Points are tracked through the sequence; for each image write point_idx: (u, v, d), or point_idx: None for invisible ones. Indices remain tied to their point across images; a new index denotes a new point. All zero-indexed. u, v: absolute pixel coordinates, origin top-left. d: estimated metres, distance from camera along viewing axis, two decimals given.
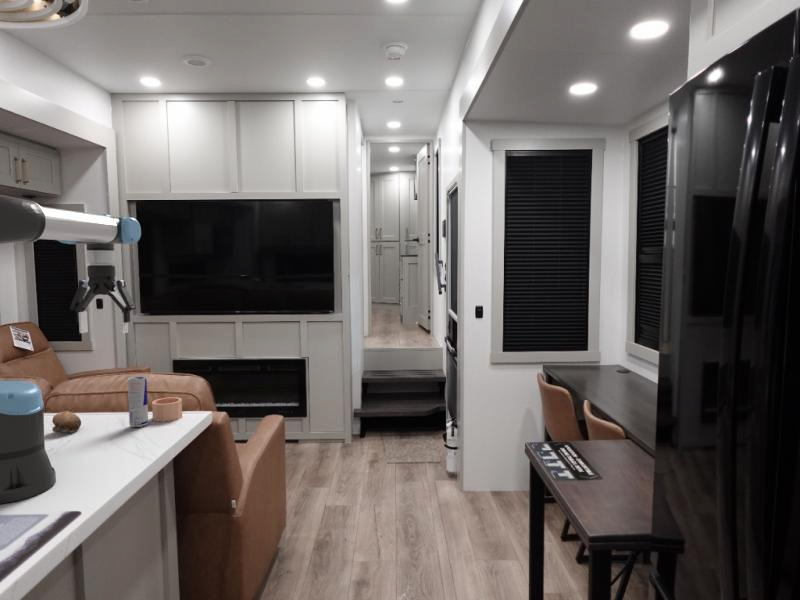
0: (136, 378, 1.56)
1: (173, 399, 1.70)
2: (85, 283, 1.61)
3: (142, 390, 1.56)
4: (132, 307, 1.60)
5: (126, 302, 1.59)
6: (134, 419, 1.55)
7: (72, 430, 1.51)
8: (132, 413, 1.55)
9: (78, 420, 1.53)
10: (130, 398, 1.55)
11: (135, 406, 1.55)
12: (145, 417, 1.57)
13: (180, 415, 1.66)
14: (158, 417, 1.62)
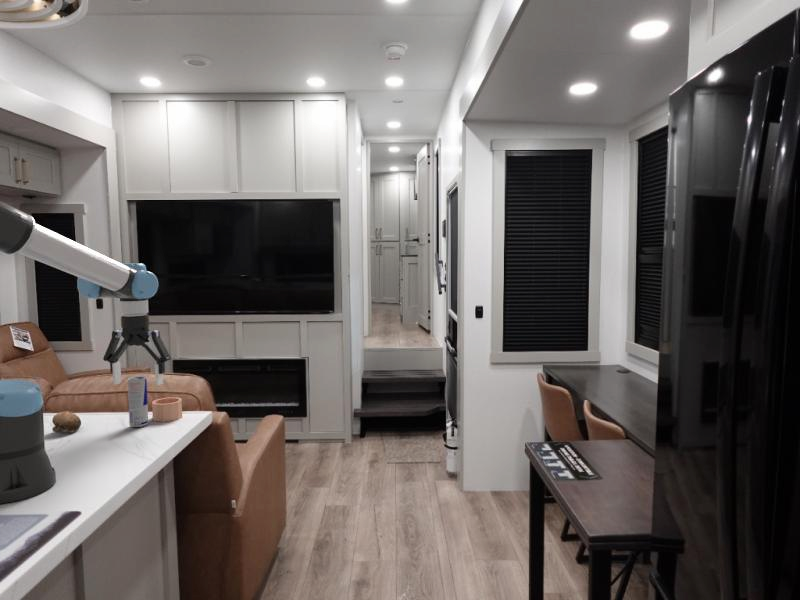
0: (136, 378, 1.56)
1: (173, 399, 1.70)
2: (118, 333, 1.56)
3: (142, 390, 1.56)
4: (167, 358, 1.55)
5: (161, 353, 1.55)
6: (134, 419, 1.55)
7: (72, 430, 1.51)
8: (132, 413, 1.55)
9: (78, 420, 1.53)
10: (130, 398, 1.55)
11: (135, 406, 1.55)
12: (145, 417, 1.57)
13: (180, 415, 1.66)
14: (158, 417, 1.62)
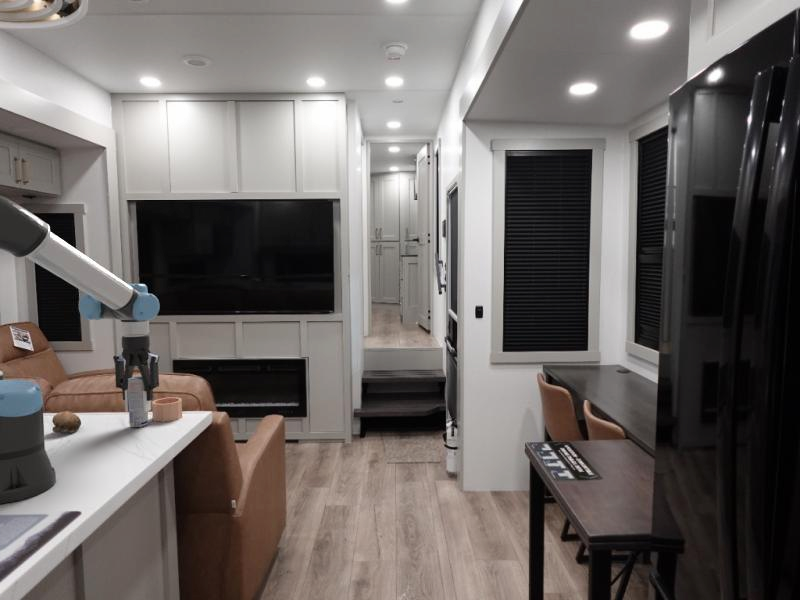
0: (136, 378, 1.56)
1: (173, 399, 1.70)
2: (120, 357, 1.57)
3: (142, 390, 1.56)
4: (155, 385, 1.56)
5: (152, 380, 1.55)
6: (134, 419, 1.55)
7: (72, 430, 1.51)
8: (132, 413, 1.55)
9: (78, 420, 1.53)
10: (130, 398, 1.55)
11: (135, 406, 1.55)
12: (145, 417, 1.57)
13: (180, 415, 1.66)
14: (158, 417, 1.62)
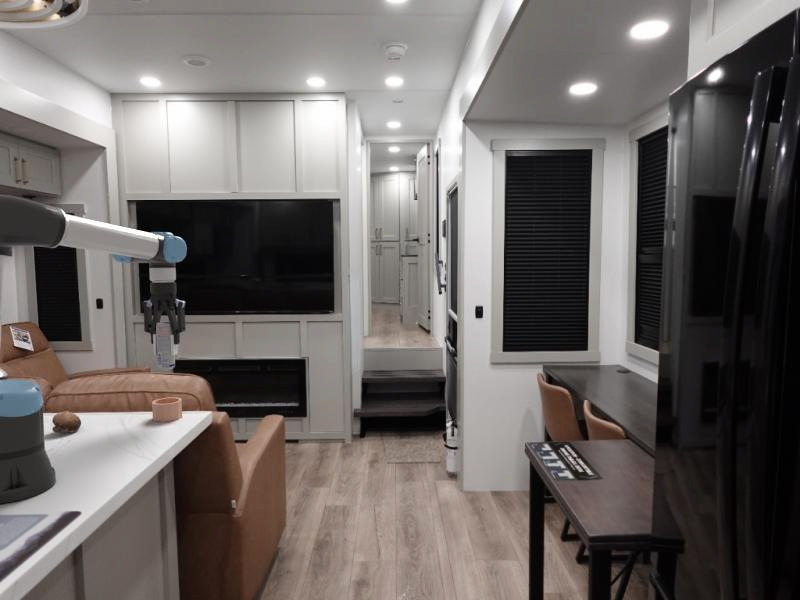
0: (164, 323, 1.64)
1: (173, 399, 1.70)
2: (148, 302, 1.64)
3: (170, 334, 1.64)
4: (182, 329, 1.64)
5: (179, 324, 1.63)
6: (162, 361, 1.63)
7: (72, 430, 1.51)
8: (160, 356, 1.63)
9: (78, 420, 1.53)
10: (158, 341, 1.63)
11: (163, 349, 1.63)
12: (173, 360, 1.65)
13: (180, 415, 1.66)
14: (158, 417, 1.62)
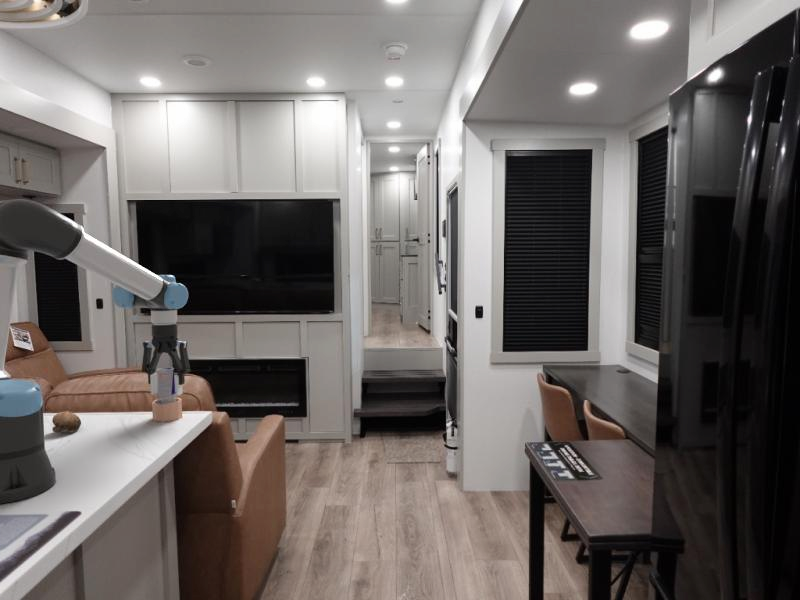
0: (164, 369, 1.65)
1: None
2: (149, 343, 1.65)
3: (171, 380, 1.64)
4: (187, 370, 1.64)
5: (183, 365, 1.63)
6: None
7: (72, 430, 1.51)
8: (161, 402, 1.64)
9: (78, 420, 1.53)
10: (159, 387, 1.64)
11: (163, 395, 1.63)
12: None
13: (180, 415, 1.66)
14: (158, 417, 1.62)
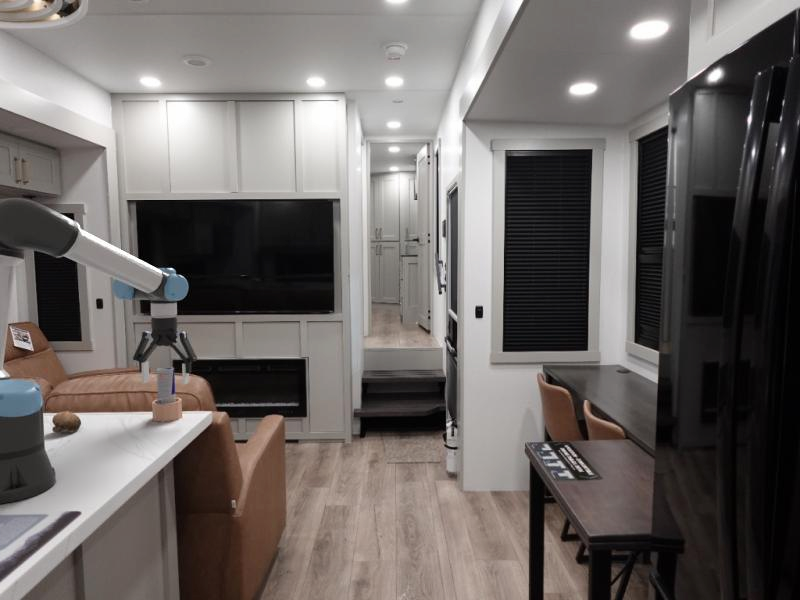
0: (164, 369, 1.65)
1: None
2: (148, 334, 1.65)
3: (171, 380, 1.64)
4: (194, 358, 1.63)
5: (188, 354, 1.63)
6: None
7: (72, 430, 1.51)
8: (161, 402, 1.64)
9: (78, 420, 1.53)
10: (159, 387, 1.64)
11: (163, 395, 1.63)
12: None
13: (180, 415, 1.66)
14: (158, 417, 1.62)
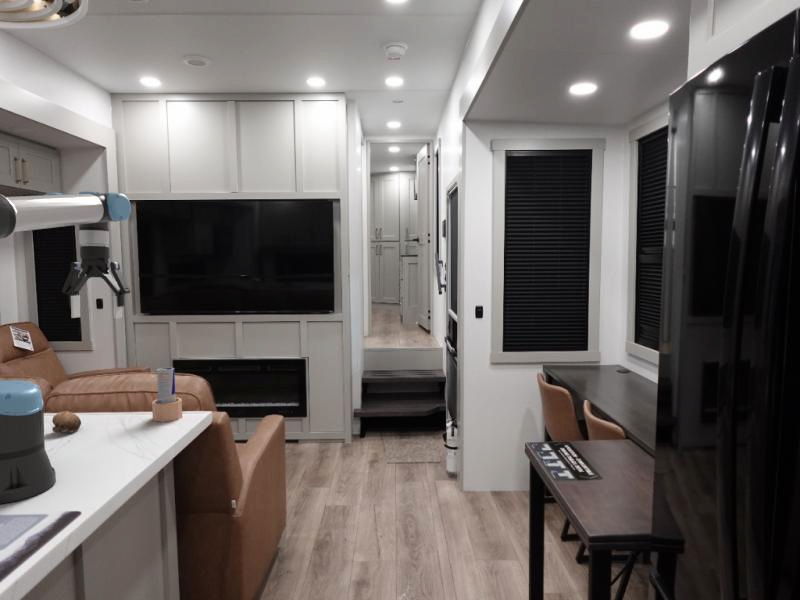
0: (165, 369, 1.65)
1: None
2: (78, 265, 1.53)
3: (171, 380, 1.64)
4: (126, 290, 1.51)
5: (120, 285, 1.51)
6: None
7: (72, 430, 1.51)
8: (161, 402, 1.64)
9: (78, 420, 1.53)
10: (159, 388, 1.64)
11: (164, 395, 1.63)
12: None
13: (180, 415, 1.66)
14: (158, 417, 1.62)
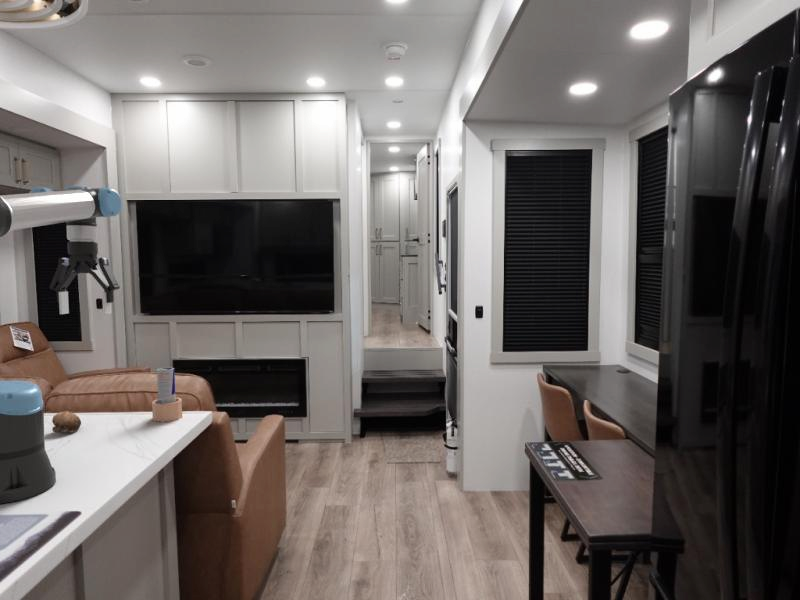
0: (165, 369, 1.65)
1: None
2: (65, 261, 1.51)
3: (171, 380, 1.64)
4: (115, 286, 1.50)
5: (109, 281, 1.49)
6: None
7: (72, 430, 1.51)
8: (161, 402, 1.64)
9: (78, 420, 1.53)
10: (159, 388, 1.64)
11: (164, 395, 1.63)
12: None
13: (180, 415, 1.66)
14: (158, 417, 1.62)
